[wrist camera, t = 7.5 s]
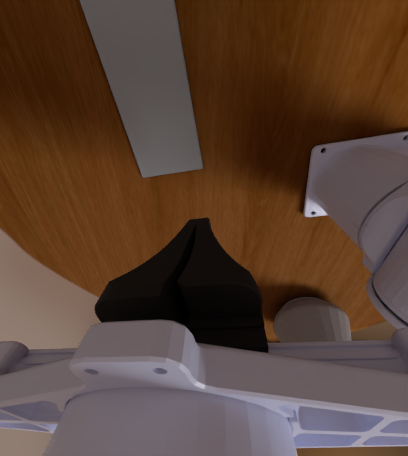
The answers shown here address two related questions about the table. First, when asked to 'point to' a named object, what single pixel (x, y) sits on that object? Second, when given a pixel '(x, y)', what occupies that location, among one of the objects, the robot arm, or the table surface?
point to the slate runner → (147, 80)
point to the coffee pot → (311, 321)
